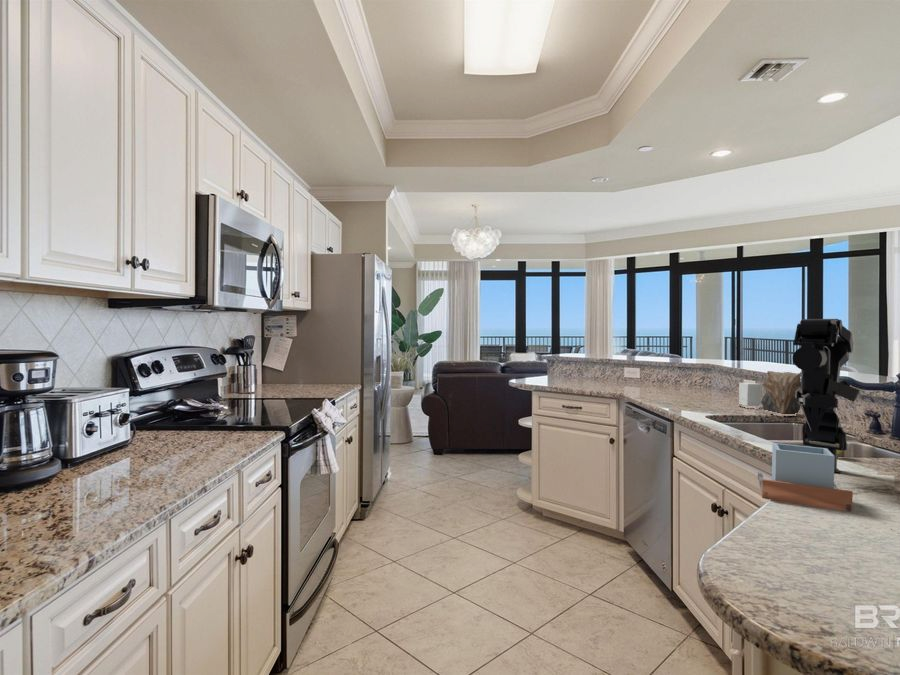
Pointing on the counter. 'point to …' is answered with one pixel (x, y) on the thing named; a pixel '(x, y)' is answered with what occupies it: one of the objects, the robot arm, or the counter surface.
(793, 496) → the brown wooden tray
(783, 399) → the owl
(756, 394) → the supplement box
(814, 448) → the box
